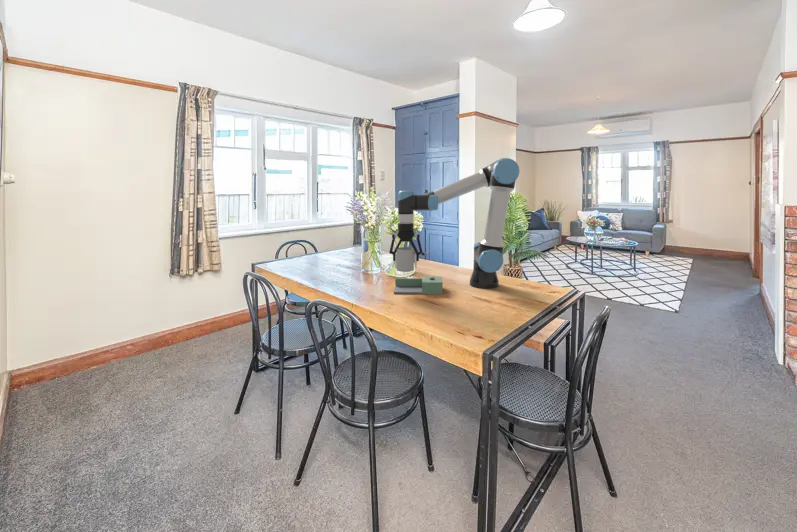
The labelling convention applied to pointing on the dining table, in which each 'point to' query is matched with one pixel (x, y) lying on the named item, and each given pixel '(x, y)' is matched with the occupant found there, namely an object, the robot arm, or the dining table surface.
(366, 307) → the dining table surface
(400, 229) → the robot arm
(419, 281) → the green stepped block
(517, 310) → the dining table surface
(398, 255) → the mug
